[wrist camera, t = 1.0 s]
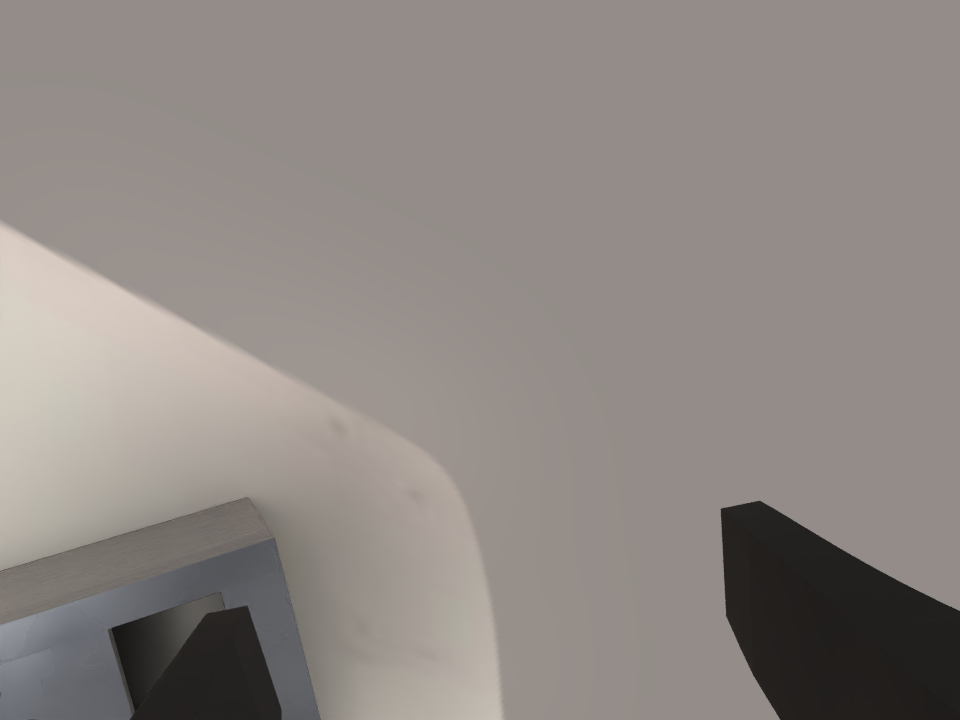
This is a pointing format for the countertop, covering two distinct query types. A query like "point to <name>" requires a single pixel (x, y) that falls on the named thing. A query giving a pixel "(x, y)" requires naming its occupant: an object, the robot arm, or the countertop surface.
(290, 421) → the countertop surface
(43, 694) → the box
